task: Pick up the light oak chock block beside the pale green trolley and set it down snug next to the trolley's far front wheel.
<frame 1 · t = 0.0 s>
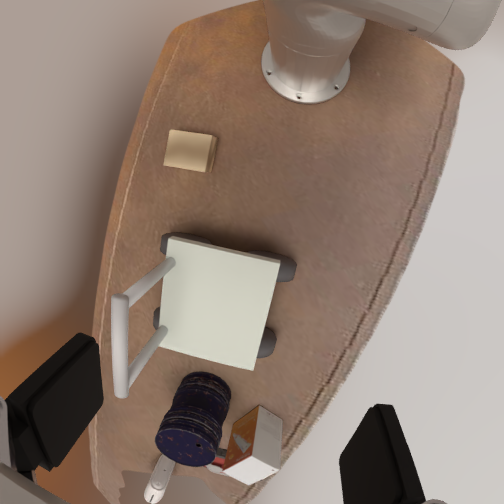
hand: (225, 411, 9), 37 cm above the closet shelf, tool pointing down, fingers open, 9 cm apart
chock: (195, 151, 43), on the closet shelf
small box: (257, 420, 55), on the closet shelf
trolley: (224, 286, 48), on the closet shelf
photo printer: (166, 462, 62), on the closet shelf
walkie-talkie: (225, 458, 60), on the closet shelf
dark blue cylinder: (205, 391, 54), on the closet shelf
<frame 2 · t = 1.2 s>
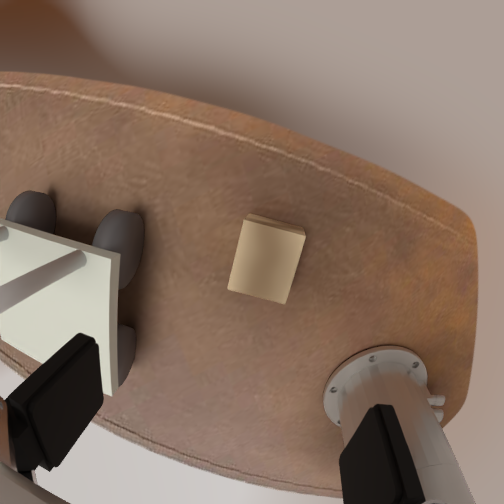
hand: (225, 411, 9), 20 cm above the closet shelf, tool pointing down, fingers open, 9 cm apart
chock: (268, 251, 29), on the closet shelf
trolley: (86, 279, 32), on the closet shelf
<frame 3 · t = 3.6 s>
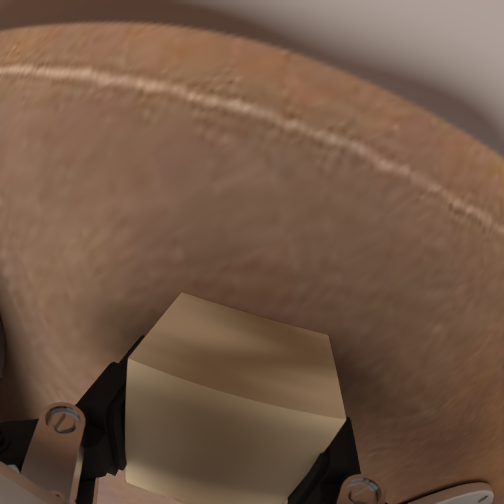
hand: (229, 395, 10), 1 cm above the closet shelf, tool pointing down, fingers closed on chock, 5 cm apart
chock: (233, 383, 11), on the closet shelf, touching gripper
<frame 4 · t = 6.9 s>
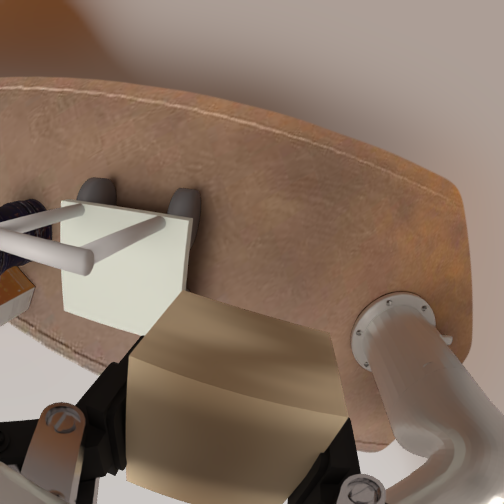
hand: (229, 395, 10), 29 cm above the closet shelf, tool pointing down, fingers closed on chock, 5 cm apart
chock: (233, 381, 11), point 28 cm above the closet shelf, touching gripper
small box: (19, 283, 45), on the closet shelf
trolley: (145, 253, 40), on the closet shelf
dark blue cylinder: (33, 228, 41), on the closet shelf
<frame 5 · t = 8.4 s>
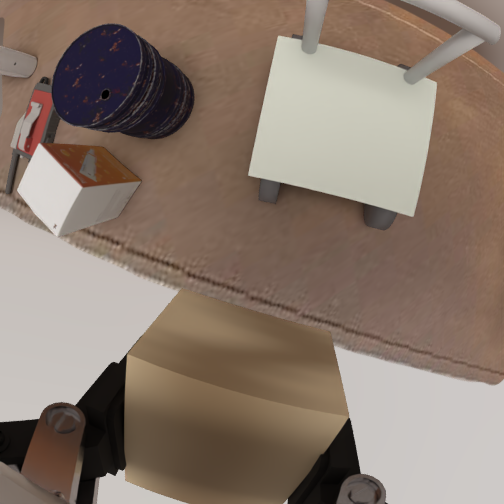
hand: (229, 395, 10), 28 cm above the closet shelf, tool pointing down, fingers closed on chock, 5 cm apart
chock: (233, 380, 11), point 28 cm above the closet shelf, touching gripper
small box: (110, 181, 38), on the closet shelf
trolley: (336, 132, 33), on the closet shelf
photo printer: (21, 66, 34), on the closet shelf
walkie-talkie: (38, 140, 38), on the closet shelf
dark blue cylinder: (158, 102, 35), on the closet shelf
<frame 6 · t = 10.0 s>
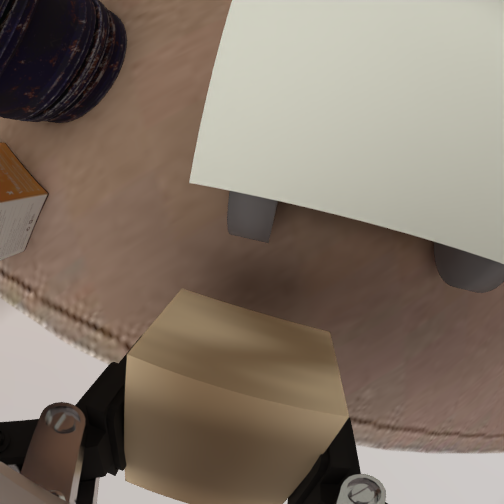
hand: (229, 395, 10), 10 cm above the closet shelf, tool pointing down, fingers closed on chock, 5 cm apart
chock: (233, 381, 11), point 9 cm above the closet shelf, touching gripper
small box: (14, 194, 20), on the closet shelf
trolley: (385, 98, 16), on the closet shelf
dark blue cylinder: (74, 63, 17), on the closet shelf
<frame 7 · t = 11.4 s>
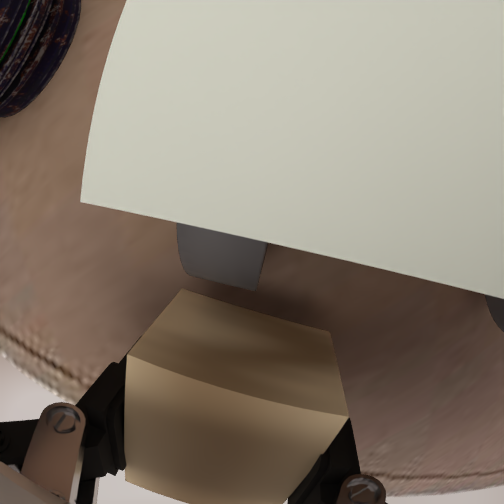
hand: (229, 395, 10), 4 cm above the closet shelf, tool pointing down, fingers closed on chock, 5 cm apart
chock: (233, 381, 11), point 4 cm above the closet shelf, touching gripper
trolley: (424, 72, 10), on the closet shelf
dark blue cylinder: (24, 45, 12), on the closet shelf
when the fingers open (2 cm above the closet shelf, at t = 12.3 s): chock drops 1 cm, on the closet shelf.
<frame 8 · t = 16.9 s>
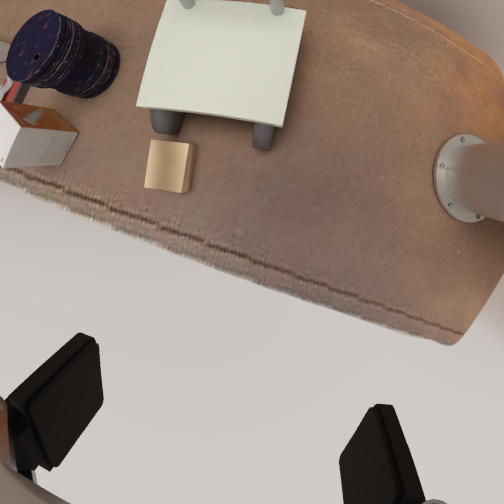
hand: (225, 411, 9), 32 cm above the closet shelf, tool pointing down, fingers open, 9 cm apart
chock: (176, 165, 40), on the closet shelf
small box: (57, 136, 40), on the closet shelf
trolley: (232, 74, 36), on the closet shelf
photo printer: (0, 53, 36), on the closet shelf
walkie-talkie: (9, 106, 40), on the closet shelf
dark blue cylinder: (94, 69, 37), on the closet shelf
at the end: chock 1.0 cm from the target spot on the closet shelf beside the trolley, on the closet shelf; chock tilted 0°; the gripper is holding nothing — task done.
